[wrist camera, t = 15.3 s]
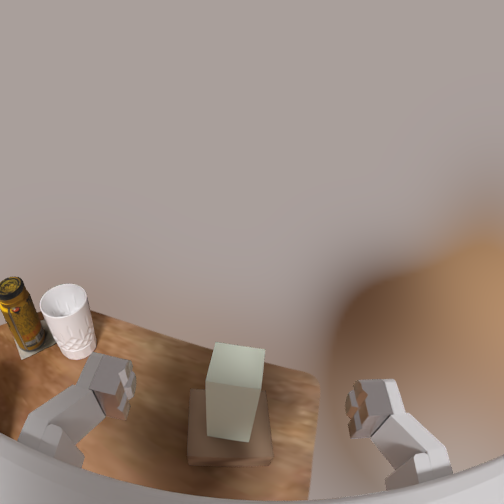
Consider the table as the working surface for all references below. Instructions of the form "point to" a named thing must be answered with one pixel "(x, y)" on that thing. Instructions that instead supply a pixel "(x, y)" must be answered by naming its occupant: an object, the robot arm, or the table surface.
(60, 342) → the white cup
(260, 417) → the walnut base
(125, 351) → the table surface
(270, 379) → the table surface
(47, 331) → the condiment
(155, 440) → the table surface
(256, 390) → the sage block
